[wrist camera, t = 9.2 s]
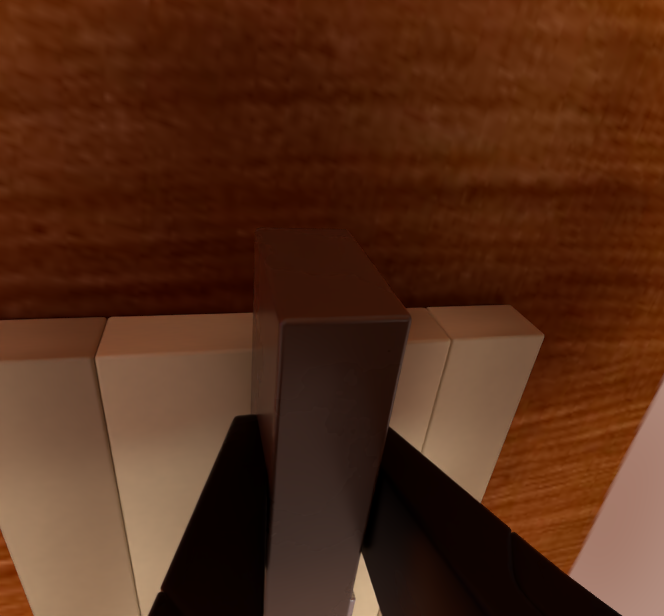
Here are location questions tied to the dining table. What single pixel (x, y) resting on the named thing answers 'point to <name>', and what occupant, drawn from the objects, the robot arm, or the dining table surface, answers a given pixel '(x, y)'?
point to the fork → (320, 408)
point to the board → (199, 435)
